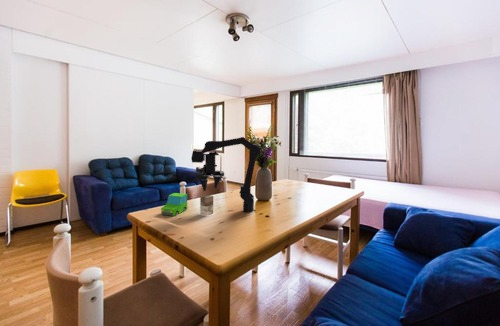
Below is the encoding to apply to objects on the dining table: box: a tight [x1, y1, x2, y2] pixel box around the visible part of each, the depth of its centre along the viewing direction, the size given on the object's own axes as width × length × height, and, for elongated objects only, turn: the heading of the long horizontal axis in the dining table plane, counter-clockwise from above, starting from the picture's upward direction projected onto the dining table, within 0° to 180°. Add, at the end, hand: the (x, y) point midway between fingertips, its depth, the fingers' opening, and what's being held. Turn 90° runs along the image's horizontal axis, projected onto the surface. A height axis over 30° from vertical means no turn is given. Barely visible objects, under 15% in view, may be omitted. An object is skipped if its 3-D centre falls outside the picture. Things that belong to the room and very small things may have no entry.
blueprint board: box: [198, 212, 217, 218], centre depth 131 cm, size 14×10×1 cm
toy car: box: [160, 192, 188, 217], centre depth 131 cm, size 10×13×10 cm
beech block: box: [199, 204, 214, 217], centre depth 130 cm, size 5×5×5 cm
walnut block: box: [199, 194, 214, 207], centre depth 129 cm, size 5×5×5 cm
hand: (210, 189), depth 137 cm, fingers open, 9 cm apart
